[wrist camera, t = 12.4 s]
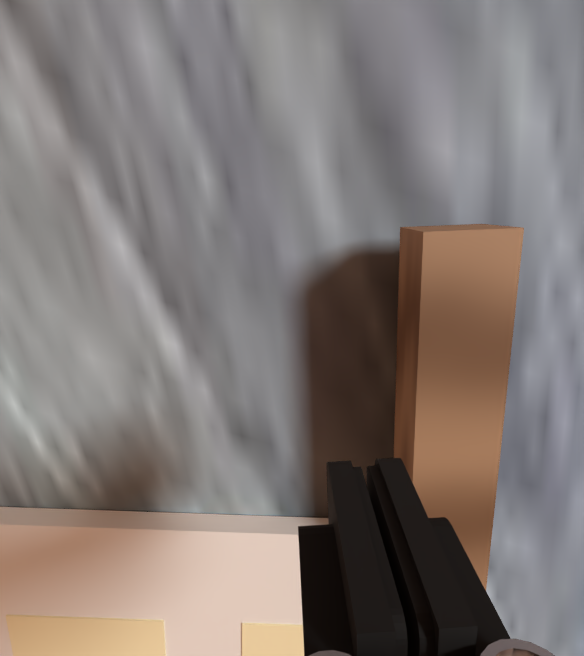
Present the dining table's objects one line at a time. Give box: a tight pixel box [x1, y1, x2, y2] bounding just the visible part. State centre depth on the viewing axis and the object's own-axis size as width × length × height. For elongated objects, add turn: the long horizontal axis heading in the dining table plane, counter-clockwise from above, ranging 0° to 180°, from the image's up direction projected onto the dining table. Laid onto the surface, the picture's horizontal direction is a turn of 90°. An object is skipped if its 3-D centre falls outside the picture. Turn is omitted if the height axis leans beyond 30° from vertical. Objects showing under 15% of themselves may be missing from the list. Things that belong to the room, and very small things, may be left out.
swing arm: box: [394, 224, 524, 590], centre depth 17 cm, size 24×3×3 cm, turn 2°
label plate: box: [0, 507, 329, 656], centre depth 23 cm, size 26×16×2 cm, turn 88°
